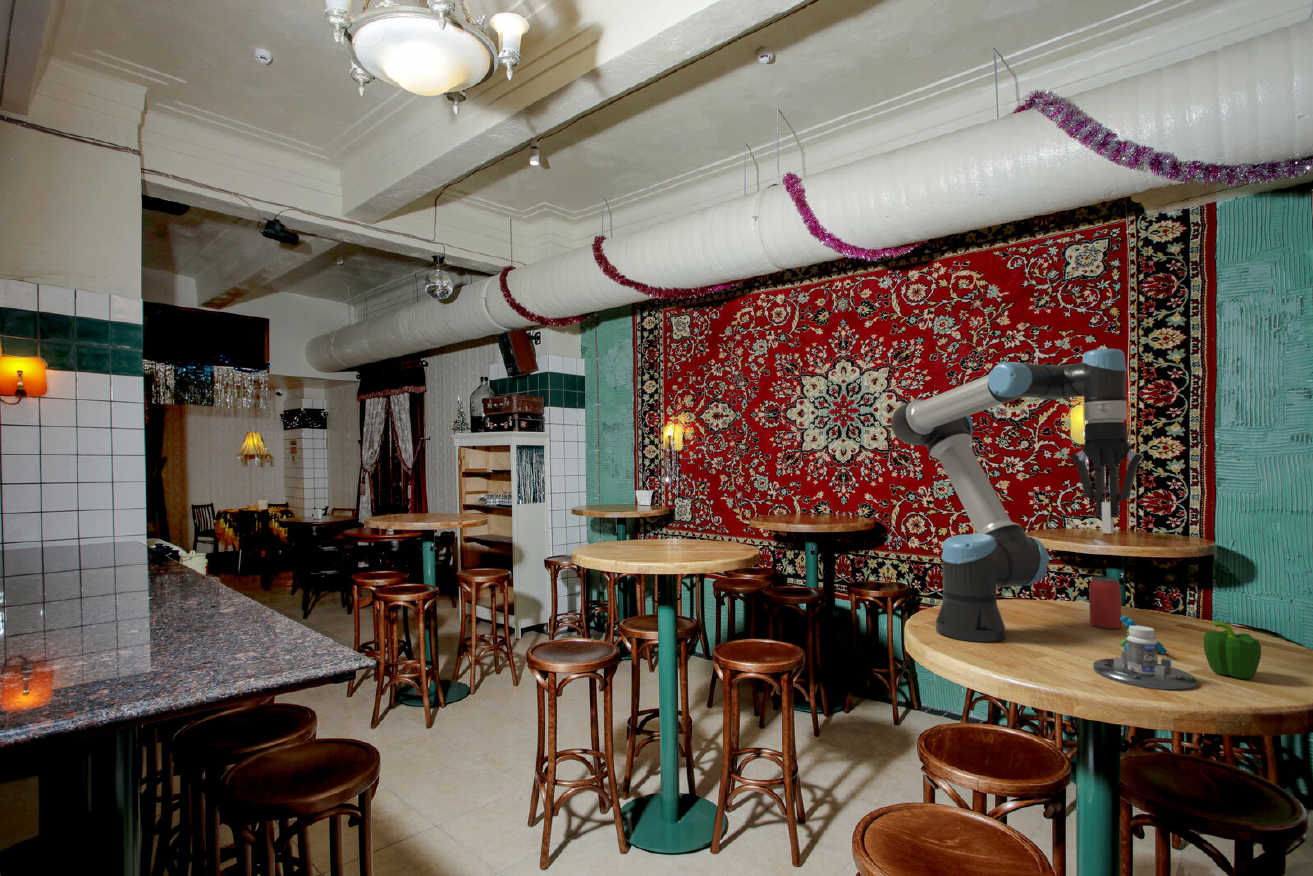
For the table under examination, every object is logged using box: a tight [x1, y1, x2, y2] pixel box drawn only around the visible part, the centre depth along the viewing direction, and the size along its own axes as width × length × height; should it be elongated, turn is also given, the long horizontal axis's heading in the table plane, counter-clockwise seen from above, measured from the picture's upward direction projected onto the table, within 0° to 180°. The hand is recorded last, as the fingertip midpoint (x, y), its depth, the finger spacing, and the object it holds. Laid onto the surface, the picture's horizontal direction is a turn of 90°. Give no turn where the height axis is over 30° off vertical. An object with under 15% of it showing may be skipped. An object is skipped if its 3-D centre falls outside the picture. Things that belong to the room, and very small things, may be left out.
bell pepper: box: [1203, 621, 1262, 680], centre depth 127 cm, size 8×8×10 cm
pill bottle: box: [1126, 625, 1159, 675], centre depth 126 cm, size 5×5×8 cm
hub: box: [1092, 650, 1198, 691], centre depth 126 cm, size 16×16×3 cm
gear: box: [1118, 615, 1168, 655], centre depth 142 cm, size 11×6×10 cm
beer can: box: [1088, 575, 1123, 630], centre depth 163 cm, size 7×7×12 cm
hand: (1108, 532), depth 138 cm, fingers closed
